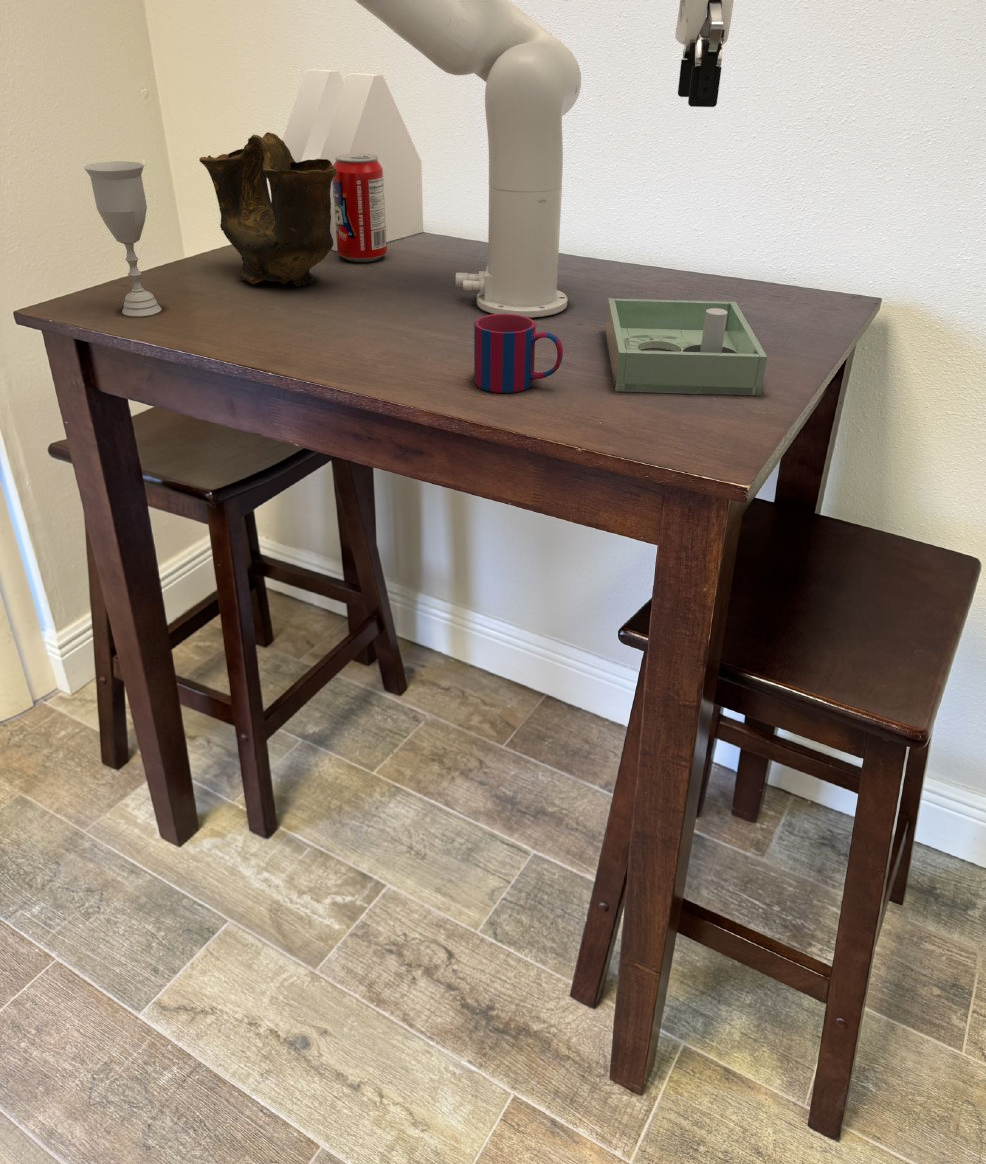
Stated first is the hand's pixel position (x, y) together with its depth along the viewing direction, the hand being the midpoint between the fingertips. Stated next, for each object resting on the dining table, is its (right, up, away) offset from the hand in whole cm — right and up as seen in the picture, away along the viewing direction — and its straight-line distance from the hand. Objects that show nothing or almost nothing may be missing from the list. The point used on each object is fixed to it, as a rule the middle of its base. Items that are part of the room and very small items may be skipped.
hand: (696, 101), depth 111 cm
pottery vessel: (-56, -12, +28) cm, 64 cm away
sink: (-2, -31, +1) cm, 31 cm away
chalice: (-71, -21, +15) cm, 76 cm away
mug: (-21, -35, -6) cm, 42 cm away
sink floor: (-2, -31, +1) cm, 31 cm away
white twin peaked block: (-48, +3, +52) cm, 71 cm away
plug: (+1, -32, -3) cm, 32 cm away
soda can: (-45, -5, +39) cm, 60 cm away
